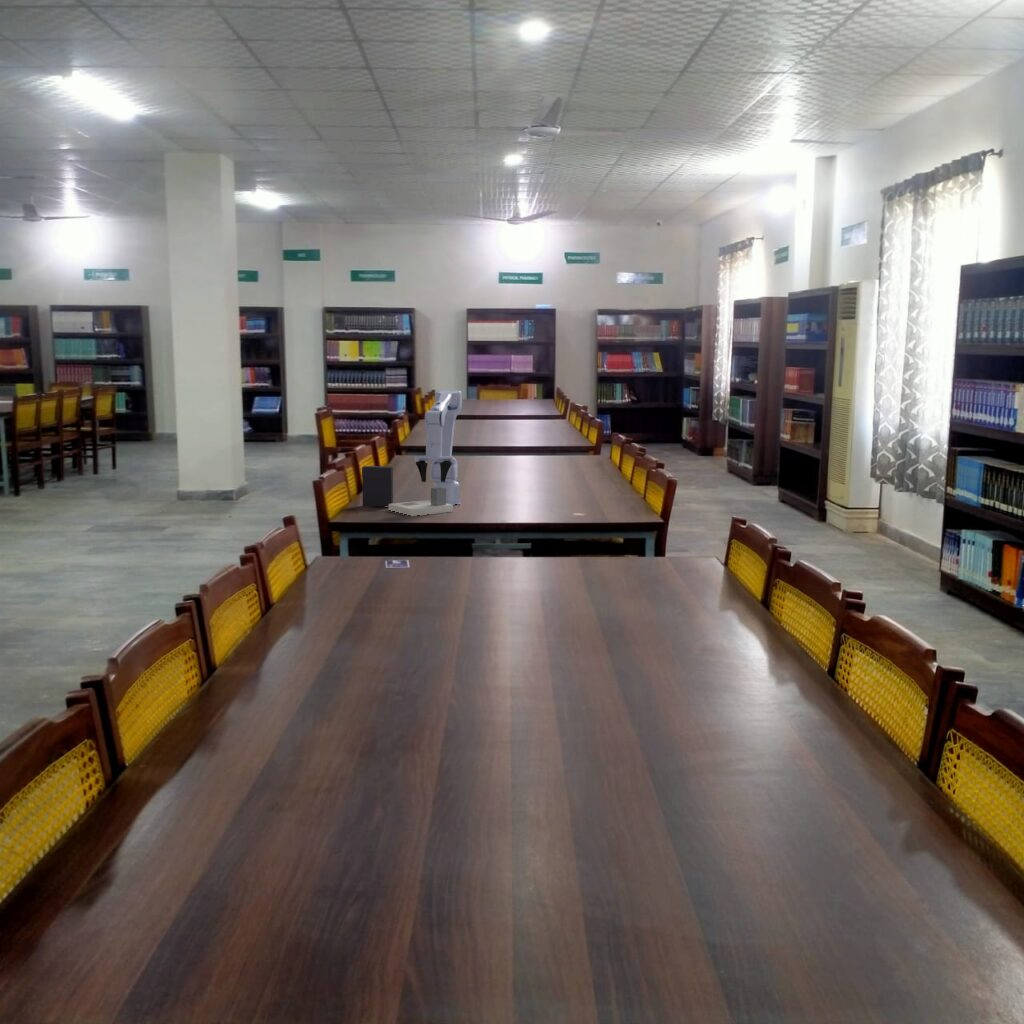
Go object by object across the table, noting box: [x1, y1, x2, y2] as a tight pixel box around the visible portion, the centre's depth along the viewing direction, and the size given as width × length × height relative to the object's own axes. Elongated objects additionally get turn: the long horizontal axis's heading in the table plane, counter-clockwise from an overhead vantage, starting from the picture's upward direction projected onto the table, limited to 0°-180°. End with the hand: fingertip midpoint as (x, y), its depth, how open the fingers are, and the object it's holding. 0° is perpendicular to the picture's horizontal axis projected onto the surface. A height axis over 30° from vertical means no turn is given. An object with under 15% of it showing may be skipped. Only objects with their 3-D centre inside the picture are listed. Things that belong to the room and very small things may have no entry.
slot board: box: [388, 499, 454, 517], centre depth 352 cm, size 18×15×2 cm
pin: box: [430, 487, 446, 506], centre depth 352 cm, size 4×4×6 cm
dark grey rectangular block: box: [361, 465, 394, 508], centre depth 360 cm, size 11×4×15 cm, turn 84°
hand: (433, 481), depth 349 cm, fingers open, 7 cm apart
